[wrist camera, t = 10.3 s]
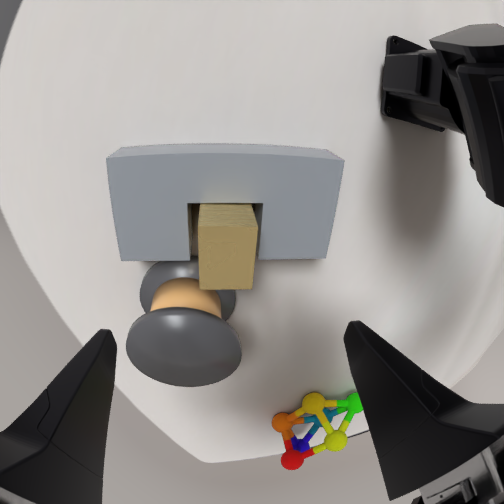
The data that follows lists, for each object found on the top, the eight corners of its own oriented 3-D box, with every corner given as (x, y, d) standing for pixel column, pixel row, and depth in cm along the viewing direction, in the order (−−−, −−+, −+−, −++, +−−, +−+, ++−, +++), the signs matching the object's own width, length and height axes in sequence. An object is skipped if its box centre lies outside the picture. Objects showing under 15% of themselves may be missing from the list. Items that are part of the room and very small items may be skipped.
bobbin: (235, 254, 22) (243, 314, 17) (233, 326, 26) (239, 385, 21) (134, 255, 21) (112, 314, 16) (149, 327, 25) (140, 385, 20)
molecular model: (338, 387, 44) (288, 457, 39) (301, 361, 41) (245, 439, 36) (386, 406, 33) (328, 489, 28) (352, 380, 31) (282, 478, 26)
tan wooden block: (246, 187, 20) (258, 226, 14) (242, 238, 22) (252, 289, 17) (202, 186, 19) (198, 226, 14) (202, 238, 21) (199, 289, 16)
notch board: (327, 149, 19) (344, 160, 16) (313, 237, 22) (325, 258, 20) (121, 147, 17) (106, 158, 14) (131, 239, 20) (121, 261, 18)
